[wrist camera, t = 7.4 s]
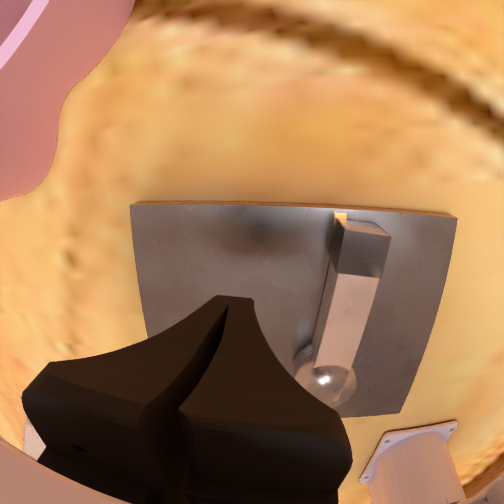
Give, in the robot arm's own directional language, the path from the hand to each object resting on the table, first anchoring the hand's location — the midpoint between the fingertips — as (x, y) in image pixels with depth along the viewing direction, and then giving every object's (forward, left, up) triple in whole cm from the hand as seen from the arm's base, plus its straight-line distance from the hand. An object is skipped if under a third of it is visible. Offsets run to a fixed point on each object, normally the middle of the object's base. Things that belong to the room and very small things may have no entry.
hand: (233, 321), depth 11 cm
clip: (+14, +14, -7) cm, 21 cm away
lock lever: (-3, -5, -6) cm, 8 cm away
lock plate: (-4, -2, -7) cm, 8 cm away
